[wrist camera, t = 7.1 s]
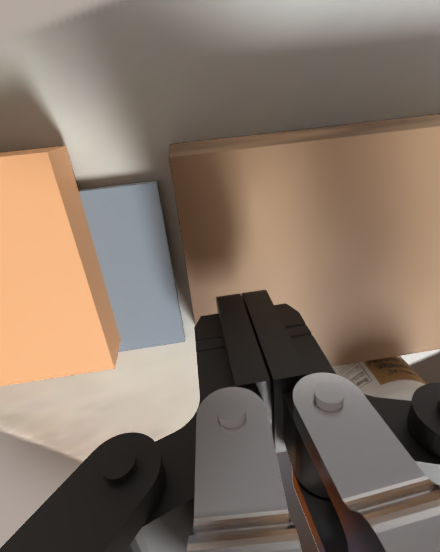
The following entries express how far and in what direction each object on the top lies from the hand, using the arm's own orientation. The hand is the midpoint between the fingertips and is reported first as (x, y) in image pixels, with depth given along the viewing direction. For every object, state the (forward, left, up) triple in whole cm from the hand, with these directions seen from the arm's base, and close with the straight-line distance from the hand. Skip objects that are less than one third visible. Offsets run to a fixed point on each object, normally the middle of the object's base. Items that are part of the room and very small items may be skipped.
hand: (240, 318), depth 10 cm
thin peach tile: (+8, 0, -3) cm, 9 cm away
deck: (-5, 0, -6) cm, 7 cm away
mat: (+6, +1, -6) cm, 8 cm away
